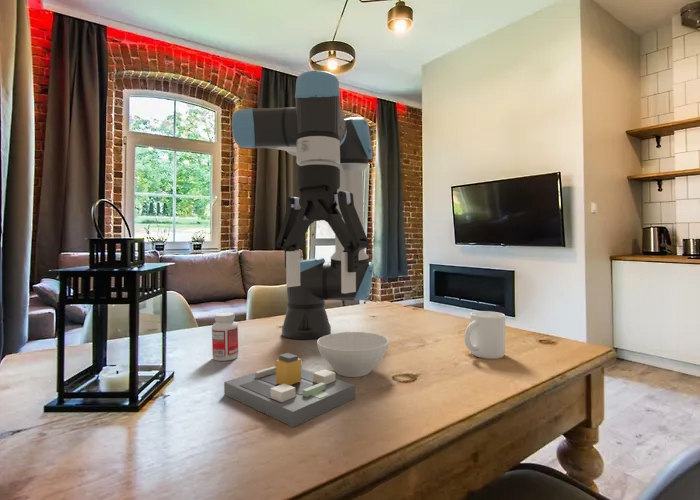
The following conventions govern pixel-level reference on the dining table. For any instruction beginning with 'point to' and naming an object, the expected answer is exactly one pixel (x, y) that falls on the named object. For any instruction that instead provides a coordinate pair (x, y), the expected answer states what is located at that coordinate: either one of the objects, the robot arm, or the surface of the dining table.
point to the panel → (291, 406)
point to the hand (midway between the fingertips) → (319, 289)
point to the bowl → (352, 352)
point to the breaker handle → (288, 369)
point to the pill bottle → (225, 337)
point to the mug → (486, 334)
